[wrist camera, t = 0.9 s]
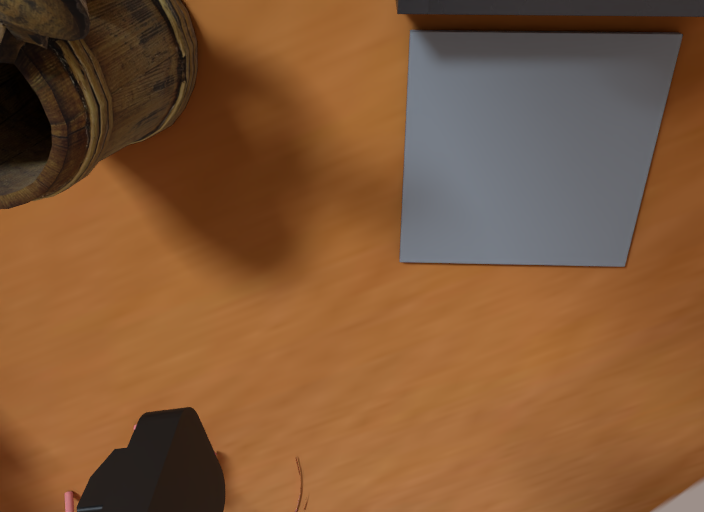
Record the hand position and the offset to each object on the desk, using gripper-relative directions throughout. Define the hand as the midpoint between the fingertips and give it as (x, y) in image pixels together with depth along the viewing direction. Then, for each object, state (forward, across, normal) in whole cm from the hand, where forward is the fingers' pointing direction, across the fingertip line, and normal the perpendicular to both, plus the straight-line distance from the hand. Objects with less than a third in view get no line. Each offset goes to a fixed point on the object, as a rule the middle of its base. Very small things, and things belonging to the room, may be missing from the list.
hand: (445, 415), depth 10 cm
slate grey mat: (+23, -5, +6) cm, 24 cm away
